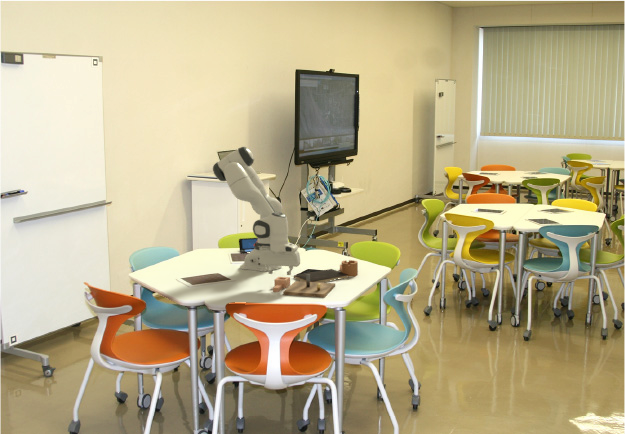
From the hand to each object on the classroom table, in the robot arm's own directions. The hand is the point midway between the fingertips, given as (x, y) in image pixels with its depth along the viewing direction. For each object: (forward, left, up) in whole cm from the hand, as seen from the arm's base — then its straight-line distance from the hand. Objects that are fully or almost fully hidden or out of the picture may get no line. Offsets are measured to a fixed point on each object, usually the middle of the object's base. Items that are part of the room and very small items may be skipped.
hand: (279, 274), depth 343 cm
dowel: (+21, -7, -5) cm, 23 cm away
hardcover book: (+15, +21, -7) cm, 27 cm away
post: (+15, -2, -5) cm, 16 cm away
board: (+16, -3, -6) cm, 17 cm away
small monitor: (-44, +74, -7) cm, 86 cm away
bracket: (+26, +36, -7) cm, 44 cm away
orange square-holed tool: (+1, -3, -6) cm, 7 cm away
